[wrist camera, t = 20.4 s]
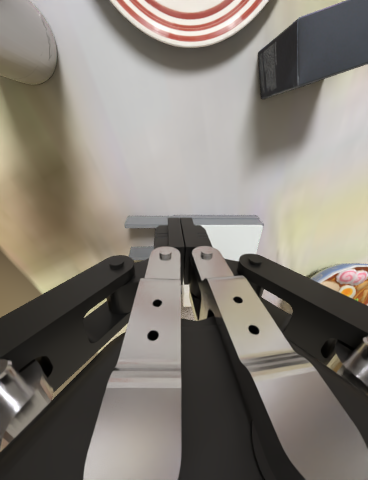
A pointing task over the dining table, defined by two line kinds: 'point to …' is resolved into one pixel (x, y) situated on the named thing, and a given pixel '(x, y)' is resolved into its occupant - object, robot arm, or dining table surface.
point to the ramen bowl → (346, 280)
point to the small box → (315, 48)
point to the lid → (234, 239)
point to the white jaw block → (185, 295)
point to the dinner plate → (189, 19)
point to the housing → (155, 221)
